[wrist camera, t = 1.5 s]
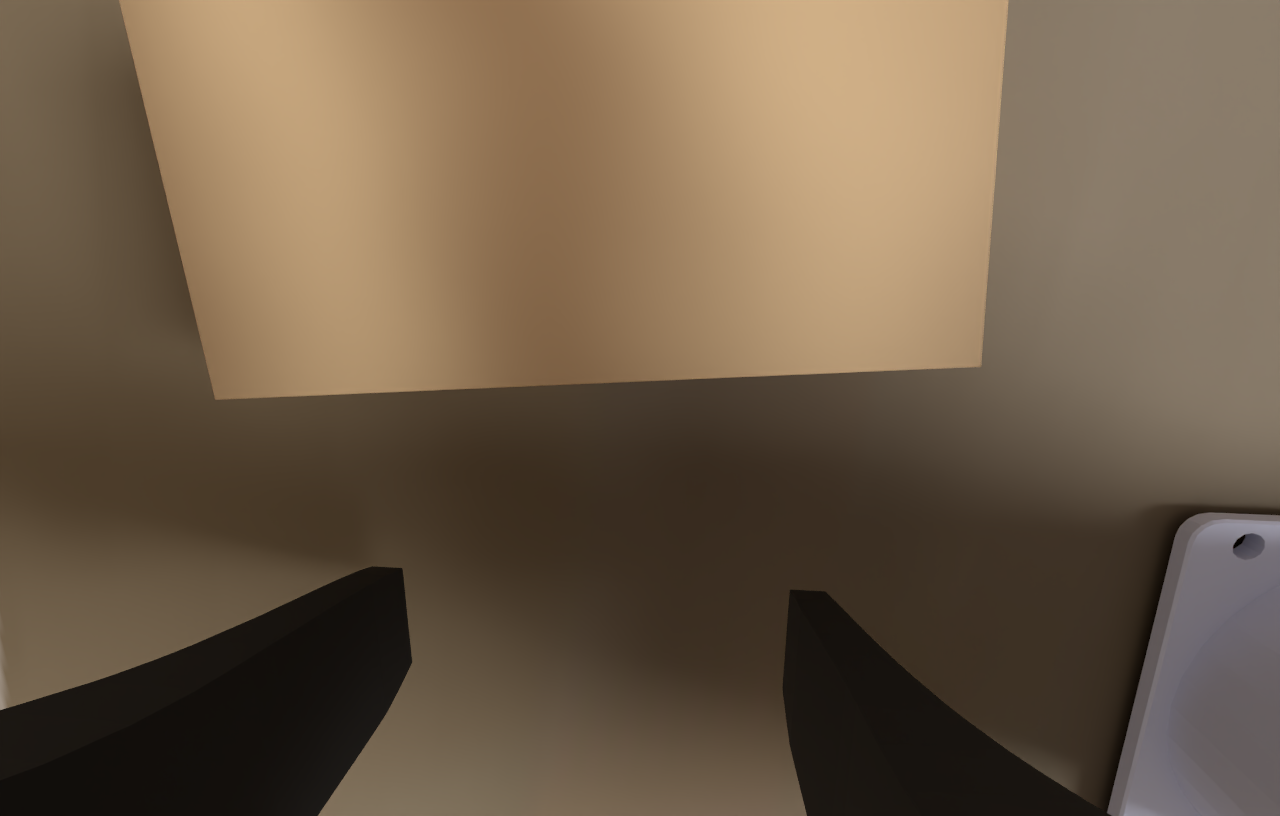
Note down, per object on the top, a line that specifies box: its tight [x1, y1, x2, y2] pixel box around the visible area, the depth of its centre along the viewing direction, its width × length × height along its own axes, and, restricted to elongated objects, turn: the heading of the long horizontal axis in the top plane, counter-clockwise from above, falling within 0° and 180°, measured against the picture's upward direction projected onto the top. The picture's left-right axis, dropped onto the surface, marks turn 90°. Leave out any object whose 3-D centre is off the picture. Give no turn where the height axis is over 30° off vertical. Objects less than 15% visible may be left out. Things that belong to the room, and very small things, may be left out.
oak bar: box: [119, 0, 1008, 400], centre depth 9 cm, size 10×5×4 cm, turn 94°
